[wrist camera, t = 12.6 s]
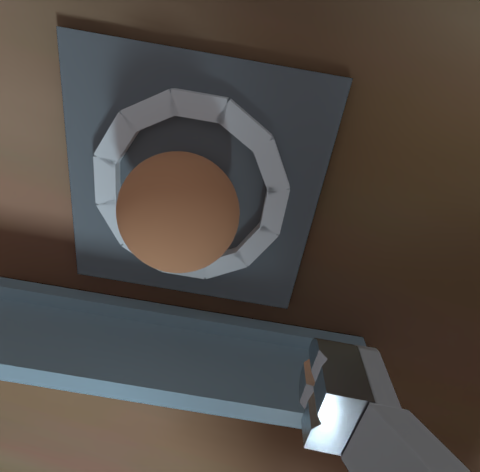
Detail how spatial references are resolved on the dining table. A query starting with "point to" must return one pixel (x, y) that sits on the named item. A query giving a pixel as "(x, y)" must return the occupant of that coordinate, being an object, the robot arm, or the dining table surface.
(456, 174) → the dining table surface
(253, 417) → the low wall
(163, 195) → the ball
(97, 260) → the mat
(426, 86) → the dining table surface
